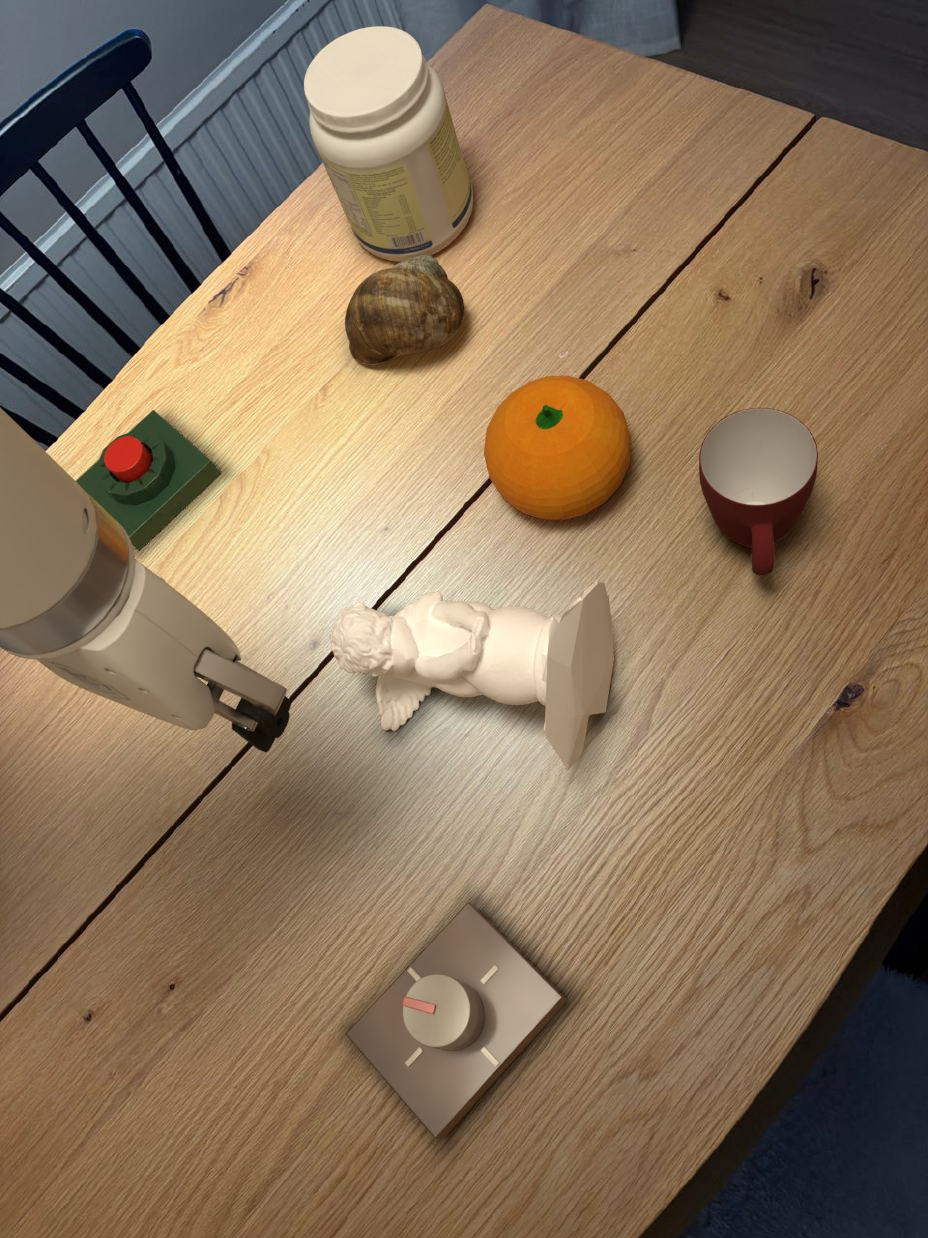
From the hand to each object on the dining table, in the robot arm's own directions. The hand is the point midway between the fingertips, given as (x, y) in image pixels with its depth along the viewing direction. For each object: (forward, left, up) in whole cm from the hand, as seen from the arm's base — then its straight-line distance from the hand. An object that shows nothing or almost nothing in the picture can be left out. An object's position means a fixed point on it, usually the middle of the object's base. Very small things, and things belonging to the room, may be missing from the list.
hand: (205, 699), depth 63 cm
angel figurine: (+14, -2, -23) cm, 27 cm away
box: (+8, +35, -23) cm, 42 cm away
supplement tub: (+44, +37, -23) cm, 62 cm away
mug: (+37, -10, -23) cm, 45 cm away
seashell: (+34, +27, -23) cm, 49 cm away
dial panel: (-4, -18, -23) cm, 30 cm away
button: (+8, +35, -19) cm, 41 cm away
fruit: (+32, +6, -23) cm, 40 cm away
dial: (-4, -18, -20) cm, 28 cm away
